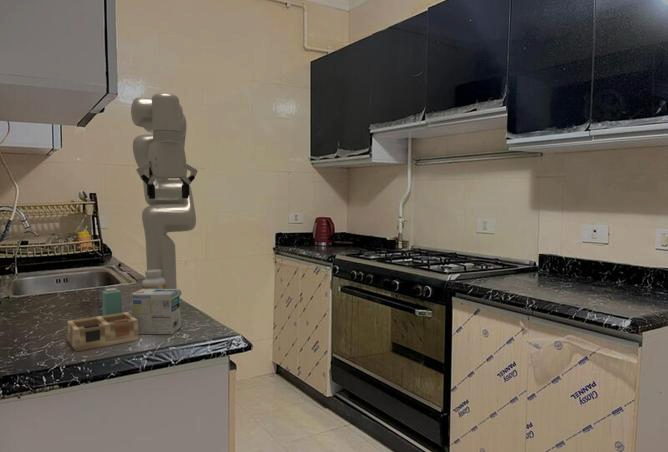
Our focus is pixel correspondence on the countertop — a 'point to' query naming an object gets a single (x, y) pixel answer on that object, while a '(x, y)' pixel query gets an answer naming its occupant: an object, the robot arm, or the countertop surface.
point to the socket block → (102, 331)
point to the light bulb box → (157, 310)
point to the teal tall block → (111, 301)
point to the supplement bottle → (154, 280)
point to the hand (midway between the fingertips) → (169, 198)
